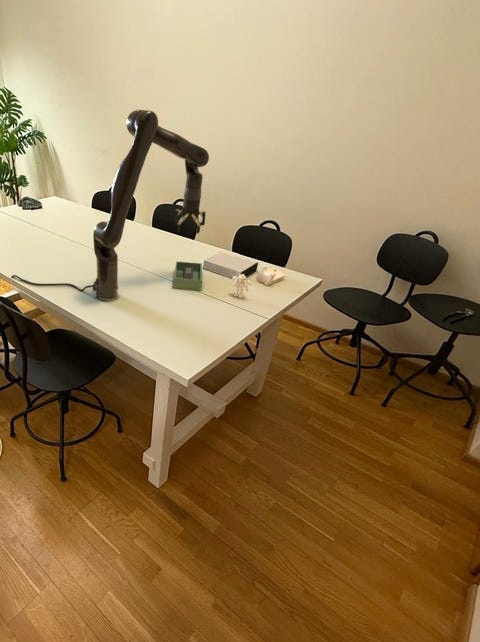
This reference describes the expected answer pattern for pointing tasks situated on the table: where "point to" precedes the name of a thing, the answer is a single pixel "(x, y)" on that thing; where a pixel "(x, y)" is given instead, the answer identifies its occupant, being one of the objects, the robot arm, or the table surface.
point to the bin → (188, 283)
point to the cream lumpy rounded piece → (269, 275)
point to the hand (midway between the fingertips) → (187, 232)
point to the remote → (188, 273)
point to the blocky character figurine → (240, 284)
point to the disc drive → (230, 265)
